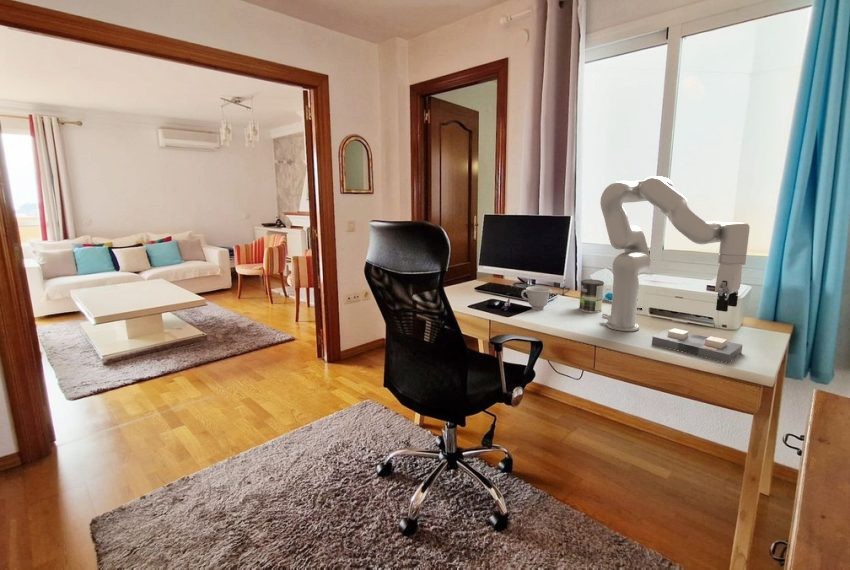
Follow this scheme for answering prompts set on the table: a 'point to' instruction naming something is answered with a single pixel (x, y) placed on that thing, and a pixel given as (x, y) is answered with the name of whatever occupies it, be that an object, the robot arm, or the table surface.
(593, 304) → the coffee can
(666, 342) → the switch panel
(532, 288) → the teacup
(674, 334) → the switch left
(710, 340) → the switch right
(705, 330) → the table surface
